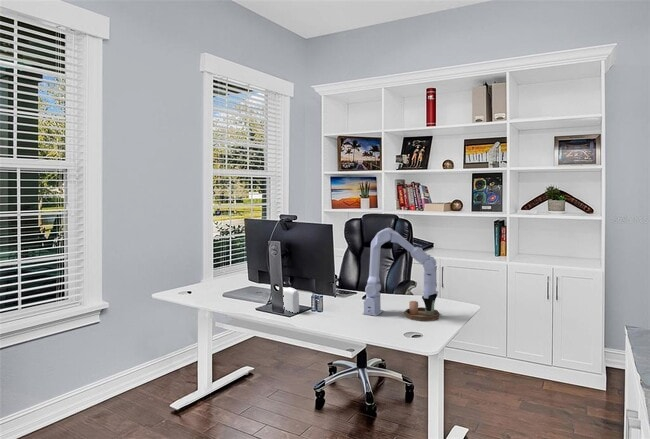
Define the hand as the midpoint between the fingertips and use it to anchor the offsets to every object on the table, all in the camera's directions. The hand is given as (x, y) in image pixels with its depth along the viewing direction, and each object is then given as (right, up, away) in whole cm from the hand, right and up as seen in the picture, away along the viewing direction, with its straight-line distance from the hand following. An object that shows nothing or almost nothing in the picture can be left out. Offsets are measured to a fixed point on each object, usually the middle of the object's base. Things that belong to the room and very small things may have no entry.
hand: (429, 309), depth 225 cm
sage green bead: (0, -2, 0) cm, 2 cm away
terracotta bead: (-7, -3, +4) cm, 9 cm away
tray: (-3, -4, +2) cm, 5 cm away
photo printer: (-69, -4, +15) cm, 71 cm away
